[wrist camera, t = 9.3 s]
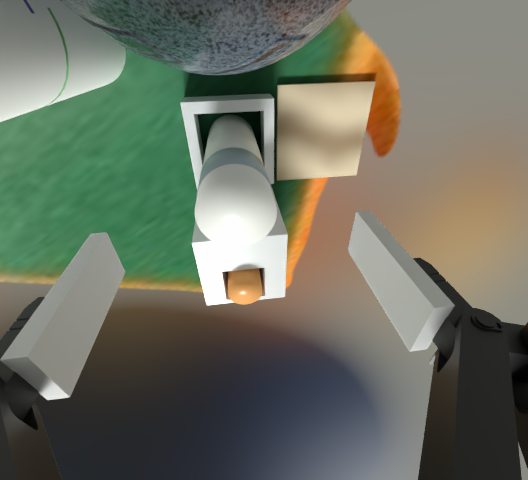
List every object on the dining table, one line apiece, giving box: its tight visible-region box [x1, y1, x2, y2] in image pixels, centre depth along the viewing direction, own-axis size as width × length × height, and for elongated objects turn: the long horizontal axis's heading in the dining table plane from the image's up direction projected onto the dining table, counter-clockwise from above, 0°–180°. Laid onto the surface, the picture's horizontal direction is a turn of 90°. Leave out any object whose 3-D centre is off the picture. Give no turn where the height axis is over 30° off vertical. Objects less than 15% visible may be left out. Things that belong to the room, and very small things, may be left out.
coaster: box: [276, 81, 376, 181], centre depth 29 cm, size 10×10×1 cm
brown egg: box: [228, 268, 262, 304], centre depth 30 cm, size 4×4×6 cm
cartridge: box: [195, 114, 277, 247], centre depth 22 cm, size 5×5×16 cm
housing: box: [180, 94, 288, 305], centre depth 28 cm, size 20×9×10 cm, turn 1°
